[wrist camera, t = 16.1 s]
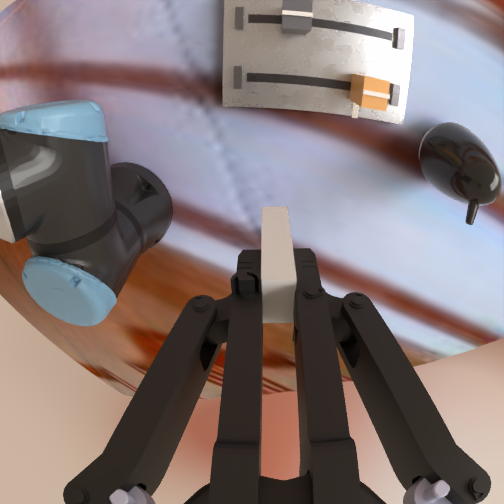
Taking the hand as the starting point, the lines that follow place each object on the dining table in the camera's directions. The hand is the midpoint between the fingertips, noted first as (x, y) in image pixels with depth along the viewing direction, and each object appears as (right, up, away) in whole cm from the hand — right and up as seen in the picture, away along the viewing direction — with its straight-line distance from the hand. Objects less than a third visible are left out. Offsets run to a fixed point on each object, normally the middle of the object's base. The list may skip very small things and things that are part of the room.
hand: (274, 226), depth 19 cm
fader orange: (+12, +19, +14) cm, 27 cm away
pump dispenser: (+27, +14, +20) cm, 36 cm away
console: (+7, +24, +14) cm, 29 cm away
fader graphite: (+4, +26, +10) cm, 28 cm away
